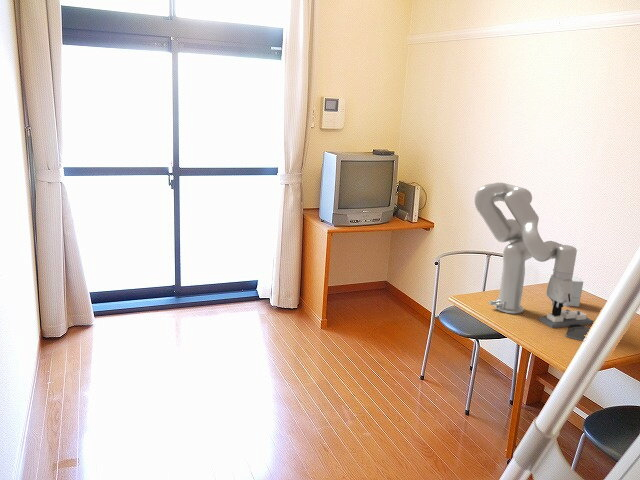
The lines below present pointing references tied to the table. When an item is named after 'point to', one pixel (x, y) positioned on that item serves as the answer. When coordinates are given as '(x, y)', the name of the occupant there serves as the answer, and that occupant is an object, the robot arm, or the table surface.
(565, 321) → the button board
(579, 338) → the smartphone
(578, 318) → the tile three
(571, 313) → the tile two
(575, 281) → the supplement box
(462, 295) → the table surface
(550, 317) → the tile one
